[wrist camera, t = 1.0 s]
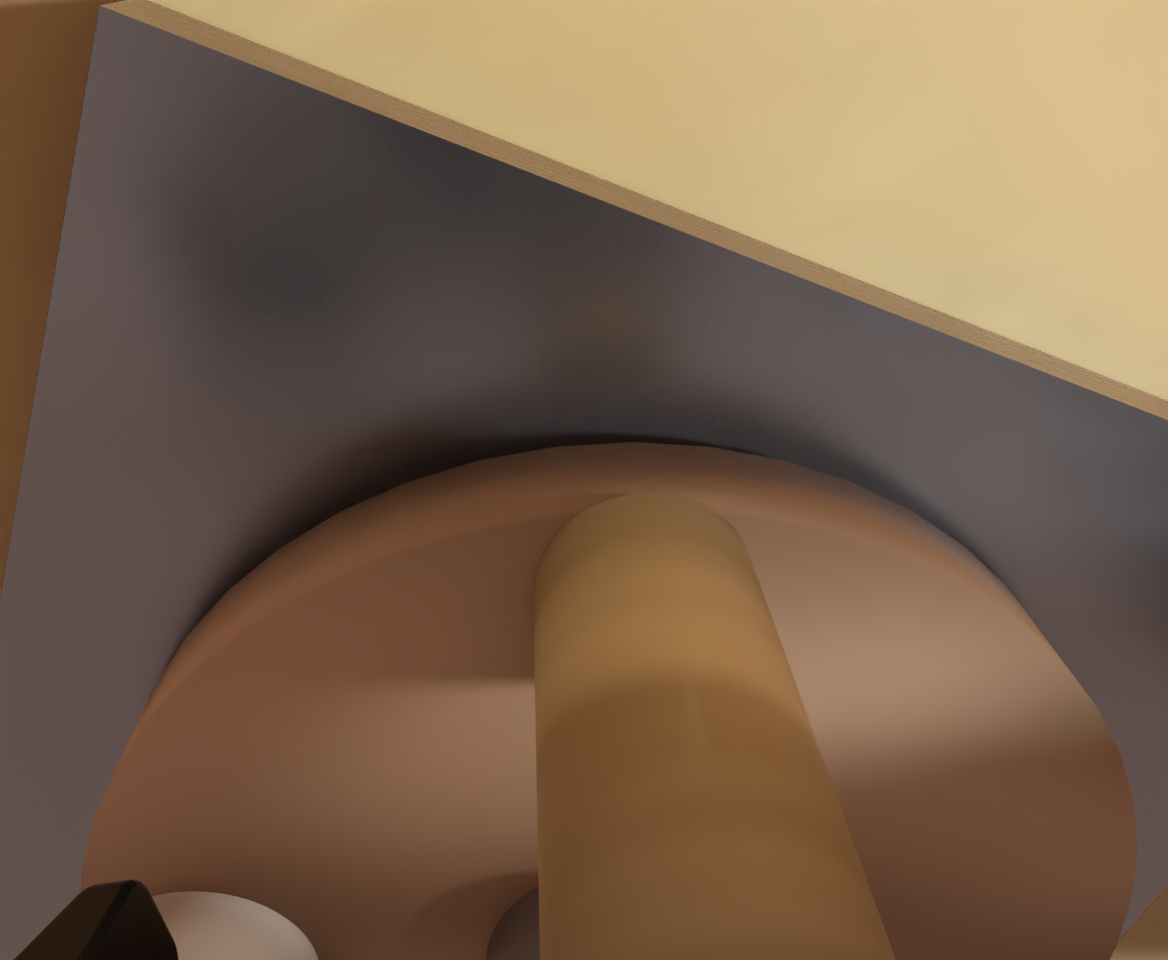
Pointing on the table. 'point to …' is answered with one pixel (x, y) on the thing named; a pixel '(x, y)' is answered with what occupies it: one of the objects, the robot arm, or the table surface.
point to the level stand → (475, 397)
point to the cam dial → (622, 734)
